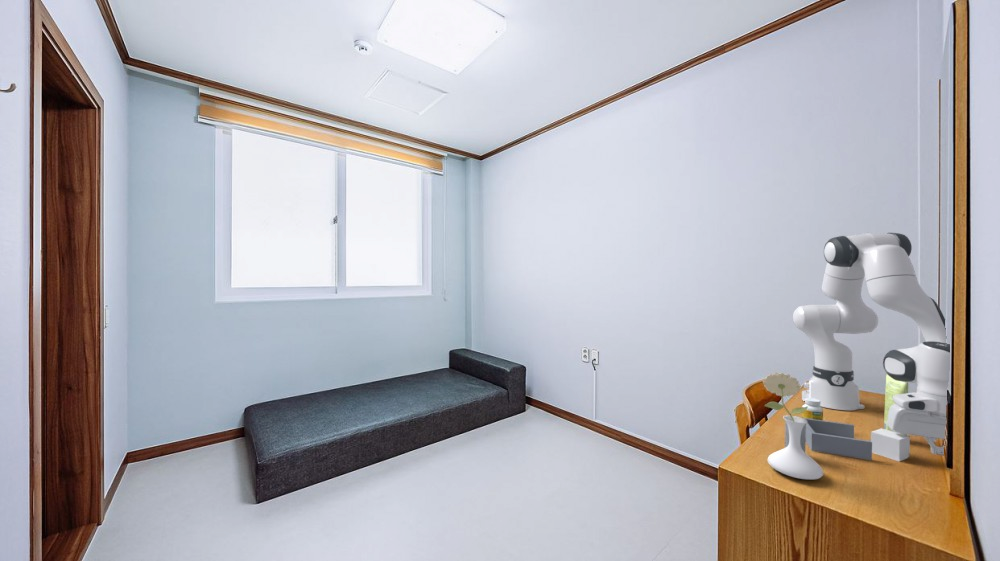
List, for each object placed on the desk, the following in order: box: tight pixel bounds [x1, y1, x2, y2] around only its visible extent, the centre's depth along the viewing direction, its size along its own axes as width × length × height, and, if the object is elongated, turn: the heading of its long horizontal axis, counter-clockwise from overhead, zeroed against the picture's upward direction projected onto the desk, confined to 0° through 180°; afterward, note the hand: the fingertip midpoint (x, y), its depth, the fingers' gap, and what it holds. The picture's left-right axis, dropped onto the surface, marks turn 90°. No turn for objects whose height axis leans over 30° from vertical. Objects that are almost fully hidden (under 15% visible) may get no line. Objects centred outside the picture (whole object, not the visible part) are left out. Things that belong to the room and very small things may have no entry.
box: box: [800, 416, 873, 461], centre depth 113 cm, size 14×13×5 cm
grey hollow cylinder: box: [784, 420, 806, 453], centre depth 107 cm, size 4×4×10 cm
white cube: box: [870, 427, 911, 462], centre depth 108 cm, size 6×6×6 cm
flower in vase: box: [762, 372, 824, 480], centre depth 98 cm, size 13×11×25 cm
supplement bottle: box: [801, 398, 824, 420], centre depth 126 cm, size 5×5×10 cm
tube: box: [883, 372, 909, 435], centre depth 117 cm, size 6×5×20 cm
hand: (939, 454), depth 103 cm, fingers closed
